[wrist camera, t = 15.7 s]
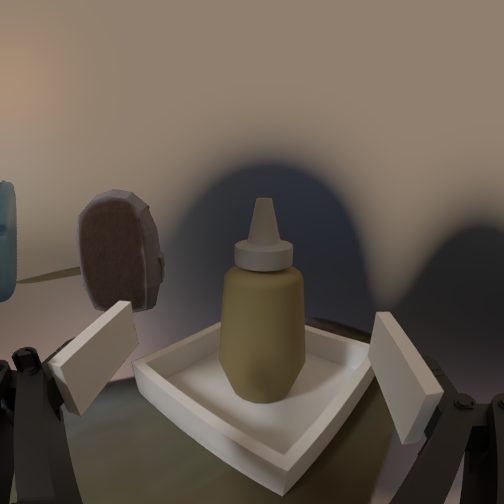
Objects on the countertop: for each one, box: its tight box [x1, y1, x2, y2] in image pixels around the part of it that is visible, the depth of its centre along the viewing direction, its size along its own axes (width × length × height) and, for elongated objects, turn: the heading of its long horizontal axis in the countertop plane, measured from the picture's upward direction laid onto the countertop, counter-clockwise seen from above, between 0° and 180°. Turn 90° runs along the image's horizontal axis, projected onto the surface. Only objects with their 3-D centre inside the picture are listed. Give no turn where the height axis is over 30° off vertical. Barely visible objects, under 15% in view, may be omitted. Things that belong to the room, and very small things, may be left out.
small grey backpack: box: [77, 189, 165, 312], centre depth 44 cm, size 15×8×20 cm, turn 96°
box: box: [132, 322, 375, 496], centre depth 27 cm, size 18×18×4 cm
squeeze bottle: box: [219, 198, 306, 403], centre depth 25 cm, size 8×8×18 cm
